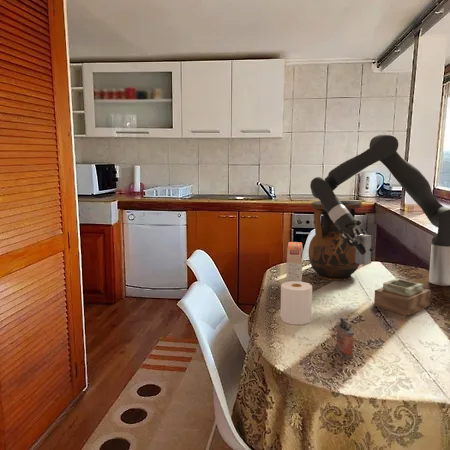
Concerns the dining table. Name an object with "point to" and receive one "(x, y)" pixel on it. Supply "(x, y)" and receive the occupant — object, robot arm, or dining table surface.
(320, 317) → the dining table surface
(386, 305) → the stand
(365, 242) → the peg
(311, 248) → the vase
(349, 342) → the lighter
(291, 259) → the cracker box
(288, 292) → the toilet paper
